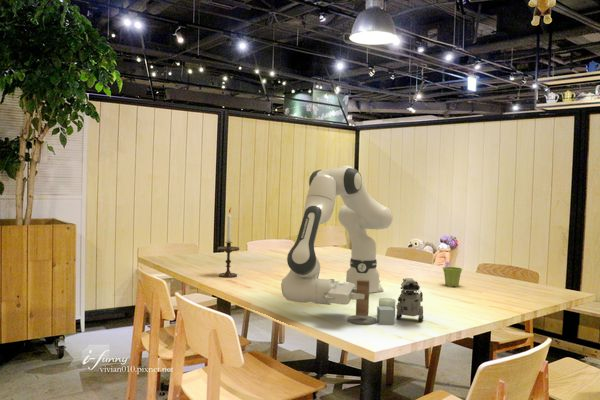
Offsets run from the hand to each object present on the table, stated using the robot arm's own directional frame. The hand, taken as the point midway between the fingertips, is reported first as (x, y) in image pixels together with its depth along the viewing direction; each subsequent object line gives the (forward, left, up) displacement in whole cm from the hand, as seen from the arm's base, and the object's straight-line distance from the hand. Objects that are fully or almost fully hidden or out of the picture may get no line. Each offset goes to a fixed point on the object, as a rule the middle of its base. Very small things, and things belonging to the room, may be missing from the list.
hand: (365, 294), depth 176 cm
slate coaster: (0, -1, -9) cm, 9 cm away
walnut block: (0, -1, -7) cm, 7 cm away
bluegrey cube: (-1, +7, -9) cm, 12 cm away
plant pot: (-80, +35, -9) cm, 88 cm away
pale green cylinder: (-10, +7, -9) cm, 15 cm away
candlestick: (-65, -75, -9) cm, 100 cm away
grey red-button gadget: (-5, +15, -9) cm, 19 cm away
